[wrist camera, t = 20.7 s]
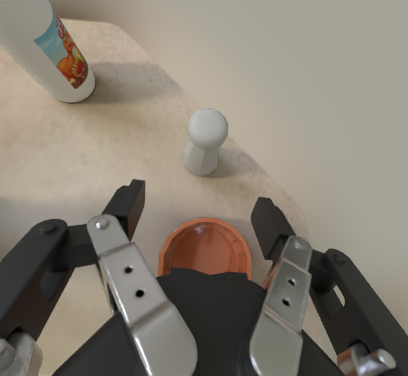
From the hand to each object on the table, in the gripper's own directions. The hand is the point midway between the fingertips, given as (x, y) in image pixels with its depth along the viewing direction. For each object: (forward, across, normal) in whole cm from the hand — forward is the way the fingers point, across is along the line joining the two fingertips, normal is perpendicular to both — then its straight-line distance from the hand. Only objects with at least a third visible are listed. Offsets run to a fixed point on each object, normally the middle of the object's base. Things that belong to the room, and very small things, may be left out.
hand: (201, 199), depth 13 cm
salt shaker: (+18, -1, +6) cm, 19 cm away
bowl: (+8, -3, +17) cm, 19 cm away
